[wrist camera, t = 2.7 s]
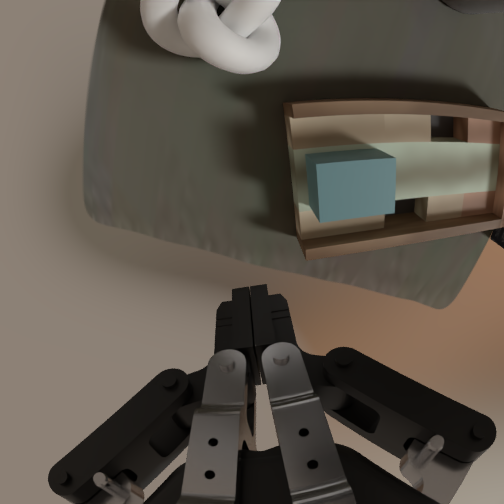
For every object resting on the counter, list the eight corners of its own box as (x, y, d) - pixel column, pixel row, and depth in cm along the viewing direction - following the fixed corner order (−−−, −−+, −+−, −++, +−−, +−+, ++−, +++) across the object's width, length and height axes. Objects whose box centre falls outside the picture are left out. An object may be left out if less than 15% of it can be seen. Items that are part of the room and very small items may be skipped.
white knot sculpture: (313, 46, 24) (345, 29, 16) (205, 106, 26) (192, 111, 18) (250, -39, 19) (257, -82, 11) (143, 21, 21) (108, -3, 13)
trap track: (282, 102, 26) (292, 104, 22) (489, 107, 26) (516, 114, 21) (296, 237, 33) (306, 260, 29) (482, 211, 33) (504, 227, 28)
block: (305, 154, 26) (316, 164, 22) (376, 148, 26) (396, 157, 22) (309, 205, 28) (319, 222, 25) (376, 197, 28) (394, 213, 25)
